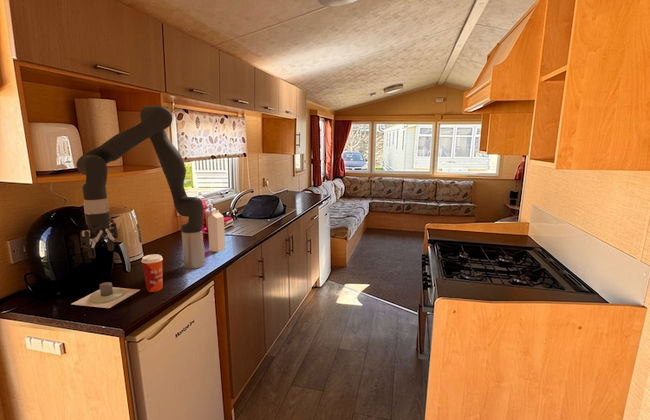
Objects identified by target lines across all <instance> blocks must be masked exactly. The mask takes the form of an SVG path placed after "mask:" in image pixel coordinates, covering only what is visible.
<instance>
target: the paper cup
mask: <svg viewBox="0 0 650 420" xmlns="http://www.w3.org/2000/svg"><path fill="white" fill-rule="evenodd" d="M163 260H164V258H163V256H162V255H161V254H157V253H156V254H148V255H144V256H143V257H142V259H141V260H140V261H141V263H142V269H143V275H144V279H145V280H144V281H145V286H146V291H147V292H149V293H152V292H153V293H154V292H155V293H156V292H159V291H162V289H163V285H164V284H163V283H164V282H163V280H164V279H163Z"/></svg>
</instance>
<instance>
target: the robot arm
mask: <svg viewBox="0 0 650 420" xmlns="http://www.w3.org/2000/svg"><path fill="white" fill-rule="evenodd" d="M139 118H140V121H141V122H140V123H138V124H136V125H134V126H132V127H130V128H128V129H125V130H123V131H121V132H118V133H117V134H115V135H114V136H112V137H110V138H109V139H107V140H106V141H105V142H104V143H102V144H101V145H99V146H98V147H96V148H94V149H91V150H89V151H88V152H86V153H84V154H82V155H81V156H80V157H79V158H78V159H77V160H76V165H75V166H76V169H77V170H78V171H79V172H80V173H81V174H83V175H85V183H83V185H82V196H83V210H84V212H83V213H84V218H85V224H86V226H87V227H88V229H87V230H80V232H79V234H80V235H79V236H80V247H81V248H83V249H85V248H86V249H87V256H88V258H90V259H95V258H96V257H97V254H96V248H95V246H96V243H98V242H99V240H101V239H105V240H106V245H107V246H106V248H107V251H109V252H112V251H115V240H116V239H118V238H119V235H118V228H117V227H118V226H117V223H116V222H111V215H110V207H109V200H108V195H107V187H106V185H107V179H108V166H107V164H109V163H111V162H115V161H117V160H119V159H120V158H122V157H123V156H125V155H126V154H127V153H128V152H130V151H131V150H133V149H134V148H135V147H137V146H138V145H139V144H141V143H143V142H144V141H145V140H148V139H150V141H151V145H152V146H153V149H154V151H155V154H156V156H157V159H158V161H159V165H160V167H161V169H162V173H163V174H164V177H165V179H166V181H167V184H168V187H169V190H170V193H171V197H172V201H173V204H174V208H175V210H176V212H177V214H178V215H180V216H182V217H188V220H187V222H186V223H184V224H182V225H181V227H180V228H181V241H182V243H181V244H182V256H183V267H184V268H185V269H189V270H192V269H199V268H202V267H204V266H205V265H206V264H205V263H206V258H205V257H206V254H205V244H204V235H203V234H204V231H203V227H204V226H203V225H204V204H203V201H202V199H201V198H200V197H195V196H193V197H192V196H188V194H187V193H186V190H185V186H184V183H185V179H186V175H187V169H186V165H185V162H184V159H183V157H182V155H181V153H180V151H179V150H178V149H177V148H176V147H175V145H174V144H173V143H172V142H171V140H170V139H169V137H168V135H167V133H166V131H165V130H167V129H168V128H169V127H170V126H171V125H172V123H173V114H172V112H171V111H170V109H168V108H167V107H165V106H160V105H145V106H143V107H142V108H141V110H140V113H139Z"/></svg>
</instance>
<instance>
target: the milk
mask: <svg viewBox="0 0 650 420" xmlns="http://www.w3.org/2000/svg"><path fill="white" fill-rule="evenodd" d="M207 228H208V245H209V246H208V247H209V252H214V253H220V252H223V251H225V250H226V235H225V233H226V232H225V217H224V215H223V214H222V213H220V210H219V209H217V210H213V211H211V215H209V216H207ZM224 249H225V250H224ZM219 251H220V252H219Z"/></svg>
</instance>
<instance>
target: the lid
mask: <svg viewBox="0 0 650 420" xmlns="http://www.w3.org/2000/svg"><path fill="white" fill-rule="evenodd" d="M112 287H113V283H112V282H109V281H107V282H101V283H99V290H100V291H98V290H96V291H97V292H96V291H94V292H95V293H94V292H92V293H93V294H92V293H91V294H92V295H90V294H89V295H90V297H89V298H90V301H91V302H93V303H105V302H110V301H114V300H116V299H119V298H120V297H122V296H123V295H124V291H123V290H122V289H119V288H120V287H116V288H112Z"/></svg>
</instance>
